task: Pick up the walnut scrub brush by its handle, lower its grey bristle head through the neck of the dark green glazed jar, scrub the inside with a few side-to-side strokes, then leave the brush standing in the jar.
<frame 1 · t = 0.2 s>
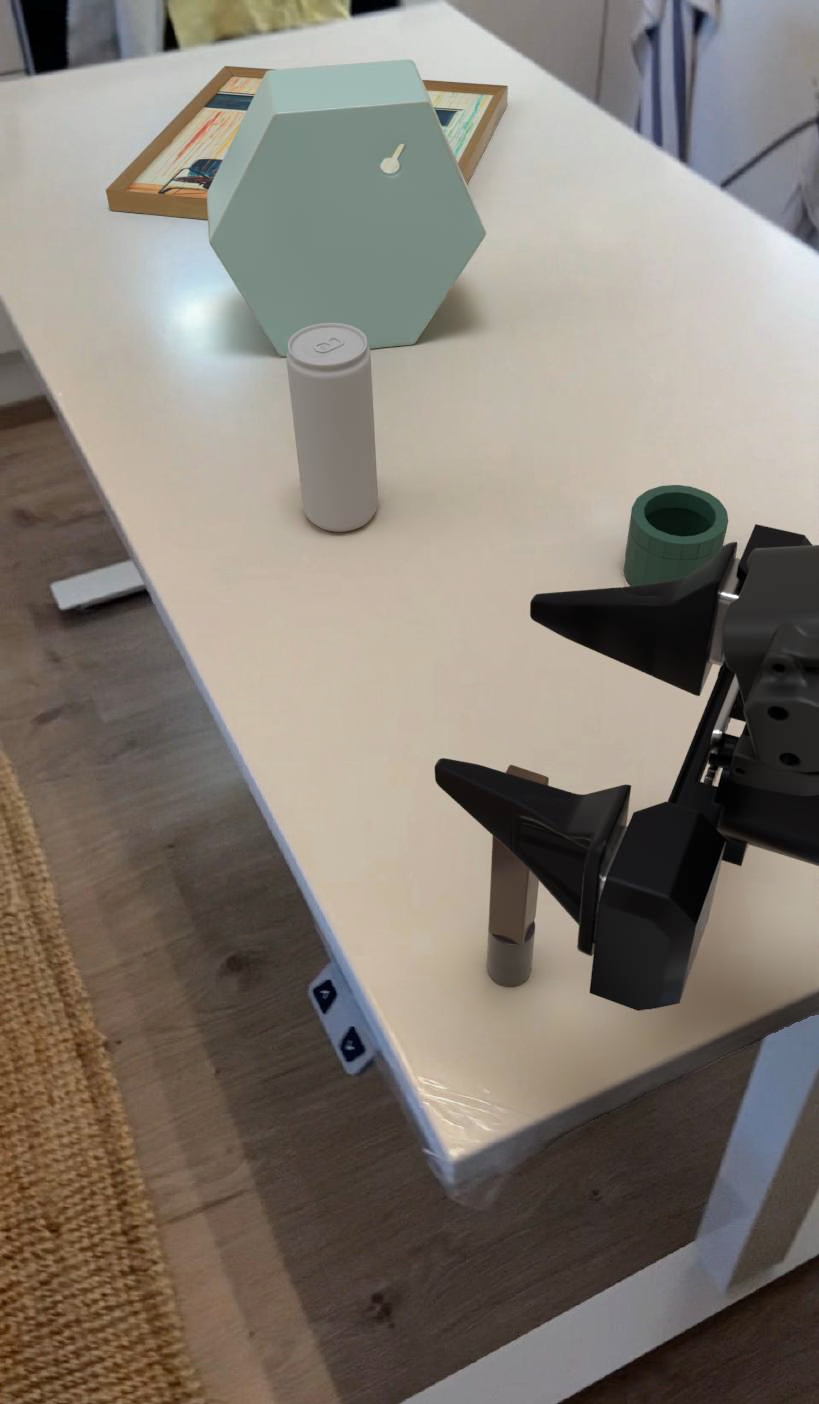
hand: (487, 683, 44), 15 cm above the table, tool horizontal, fingers open, 9 cm apart
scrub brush: (508, 967, 53), on the table
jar: (669, 573, 71), on the table
picture frame: (321, 156, 114), on the table
mint green hexagonal prism: (351, 327, 92), on the table
beverage can: (341, 514, 76), on the table
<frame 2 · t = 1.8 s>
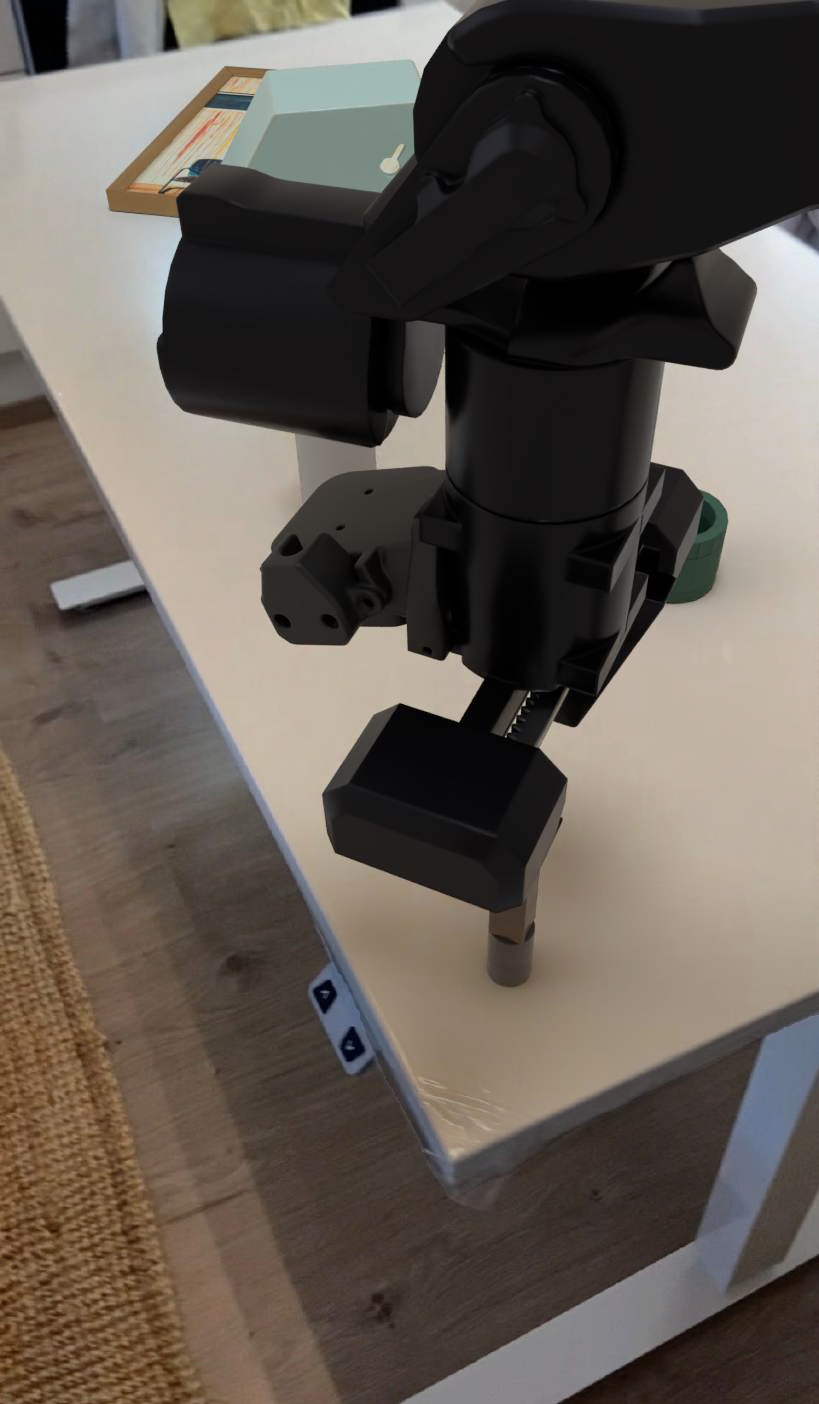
hand: (522, 805, 45), 12 cm above the table, tool pointing down, fingers open, 9 cm apart
nothing on the table moved.
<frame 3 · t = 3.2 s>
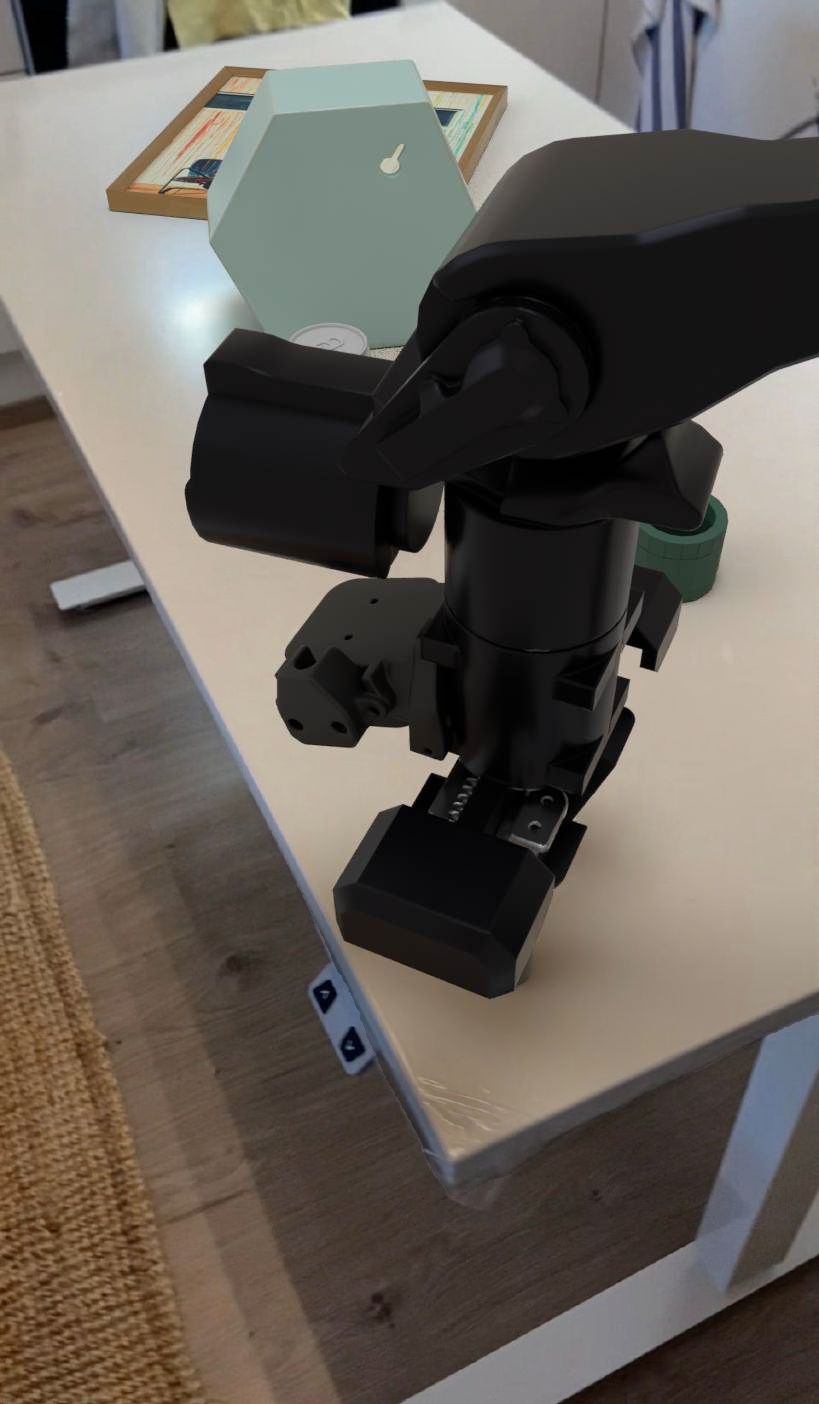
hand: (515, 877, 48), 7 cm above the table, tool pointing down, fingers closed on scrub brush, 2 cm apart
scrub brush: (508, 967, 53), on the table, touching gripper
everything else where it was.
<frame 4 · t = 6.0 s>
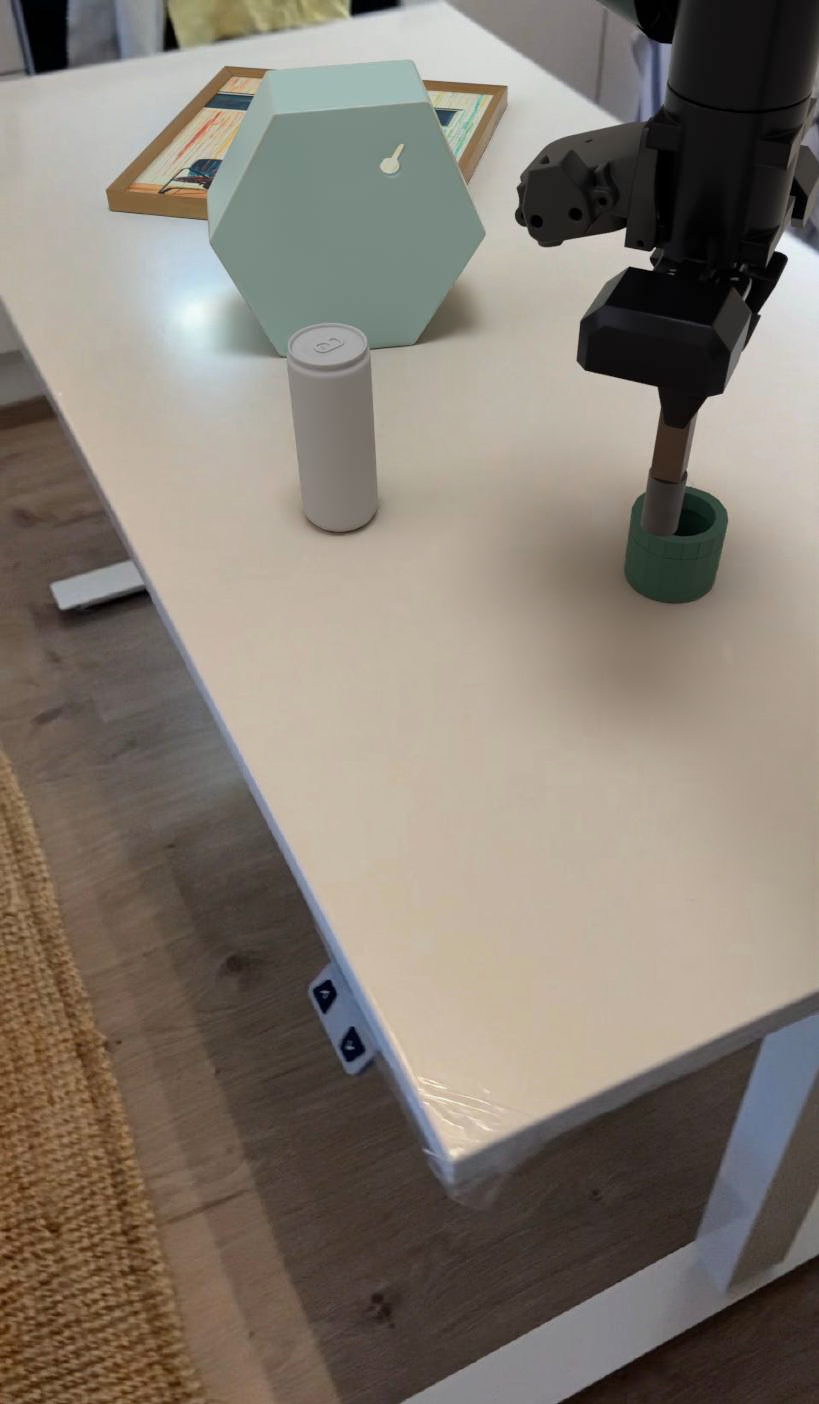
hand: (680, 415, 59), 13 cm above the table, tool pointing down, fingers closed on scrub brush
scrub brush: (659, 525, 64), point 6 cm above the table, touching gripper
everything else where it was.
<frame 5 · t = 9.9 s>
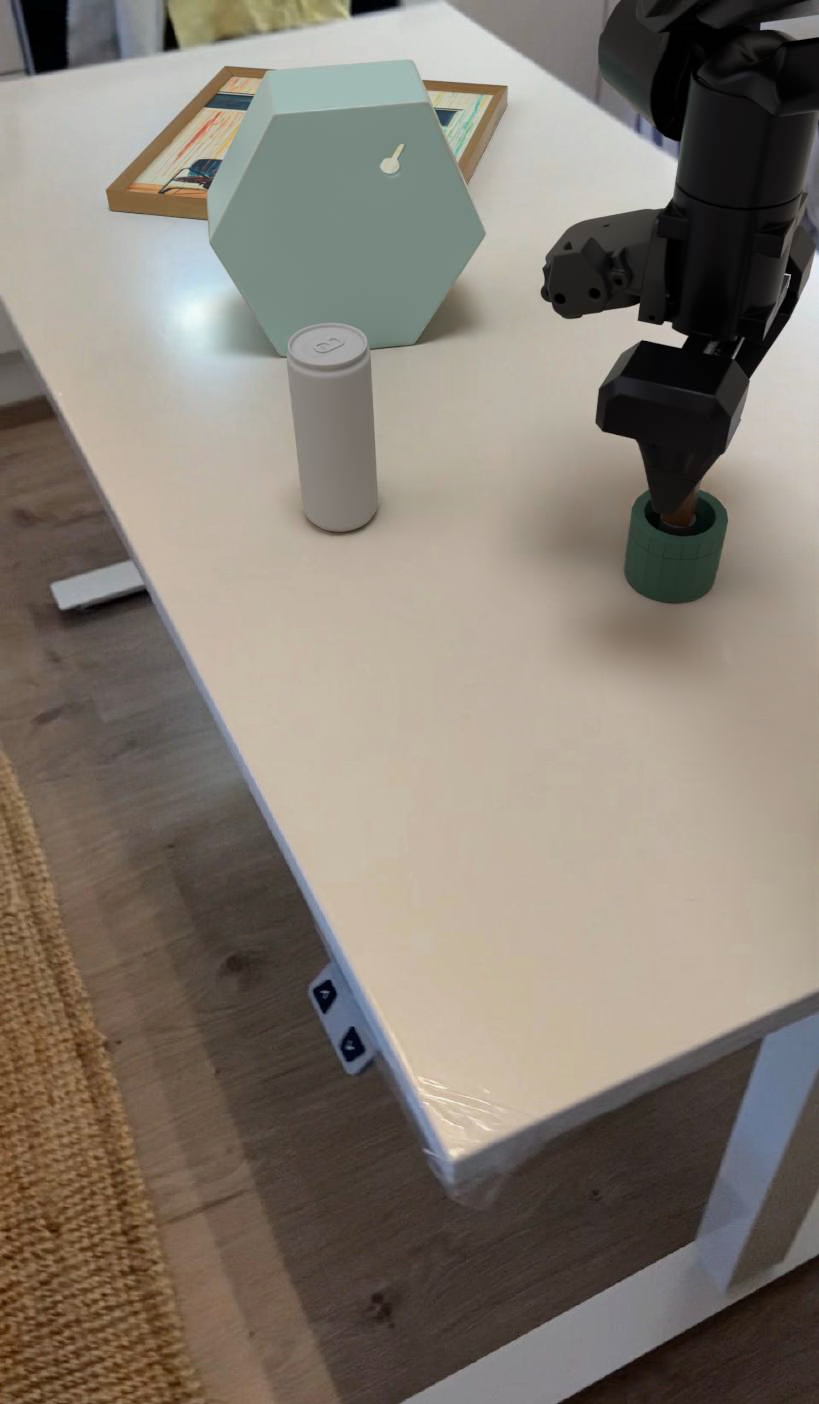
hand: (688, 465, 66), 8 cm above the table, tool pointing down, fingers open, 9 cm apart
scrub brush: (669, 563, 71), point 1 cm above the table, touching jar
everything else where it was.
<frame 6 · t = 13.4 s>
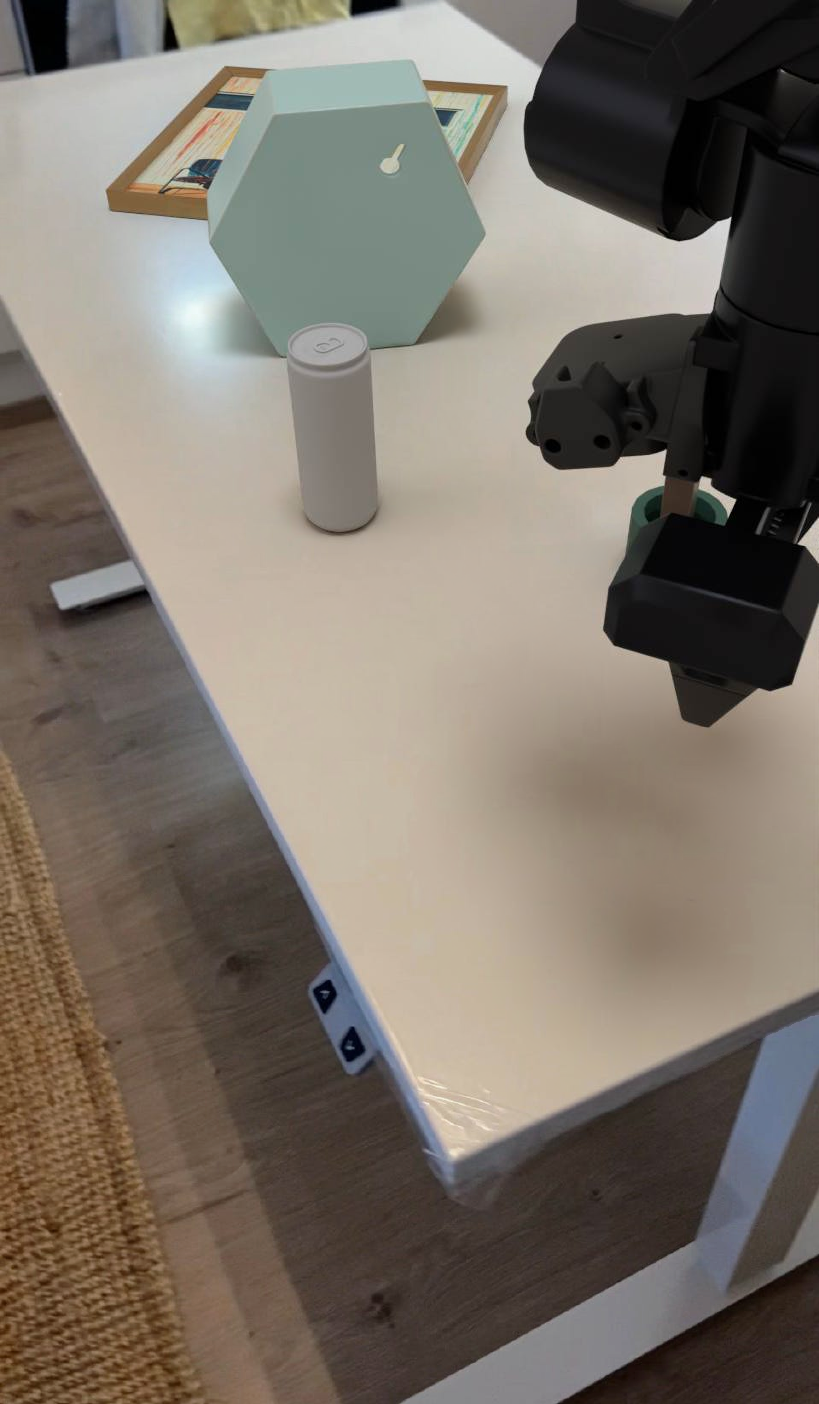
hand: (727, 645, 49), 13 cm above the table, tool pointing down, fingers open, 9 cm apart
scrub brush: (670, 559, 71), point 1 cm above the table, tilted 15°, touching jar
everything else where it was.
at the end: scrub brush 0.1 cm off-centre in the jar, point 1.1 cm above the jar's base; the gripper is holding nothing; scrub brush moved 28.8 cm from its start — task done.
